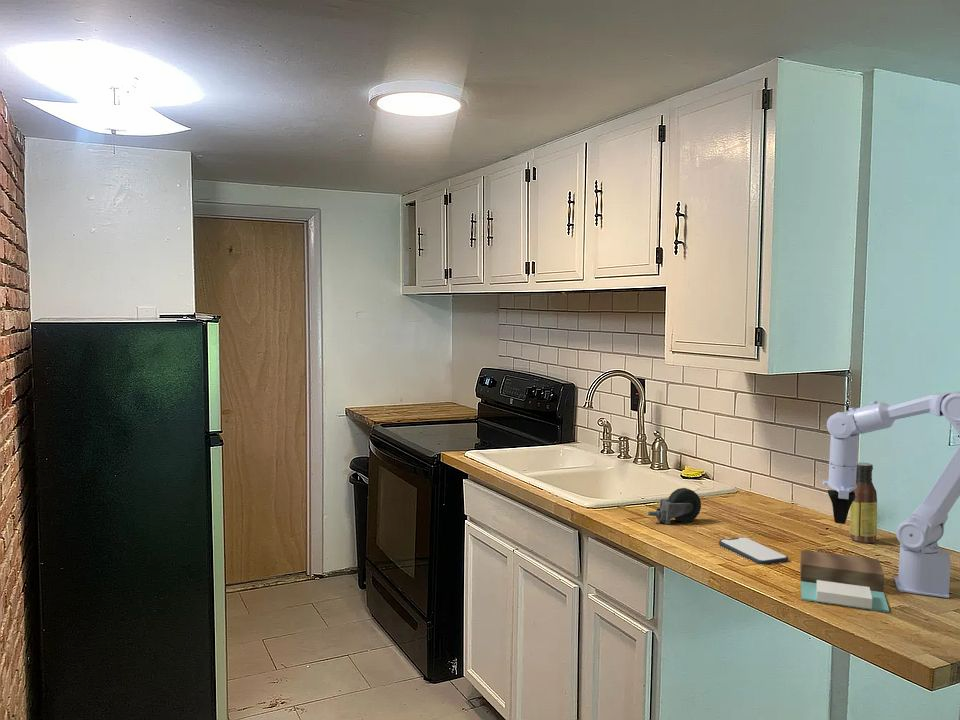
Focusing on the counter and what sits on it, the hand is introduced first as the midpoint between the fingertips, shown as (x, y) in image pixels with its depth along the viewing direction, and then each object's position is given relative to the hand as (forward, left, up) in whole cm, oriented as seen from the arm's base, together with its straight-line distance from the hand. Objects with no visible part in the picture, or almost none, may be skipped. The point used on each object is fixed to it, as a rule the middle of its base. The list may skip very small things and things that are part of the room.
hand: (839, 522), depth 179 cm
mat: (0, +20, -10) cm, 22 cm away
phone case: (+19, -3, -11) cm, 22 cm away
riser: (0, +9, -10) cm, 14 cm away
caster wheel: (+40, -22, -11) cm, 47 cm away
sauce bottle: (-7, -25, -11) cm, 28 cm away
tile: (0, +22, -8) cm, 23 cm away
